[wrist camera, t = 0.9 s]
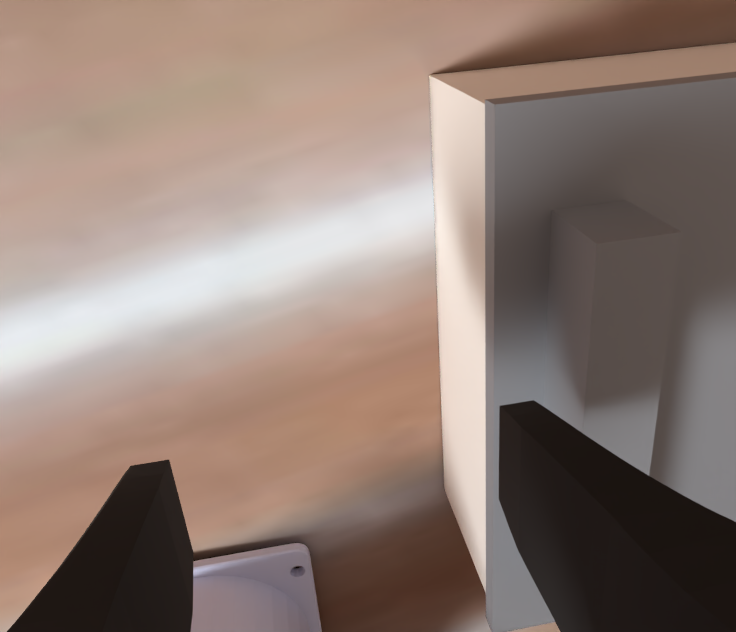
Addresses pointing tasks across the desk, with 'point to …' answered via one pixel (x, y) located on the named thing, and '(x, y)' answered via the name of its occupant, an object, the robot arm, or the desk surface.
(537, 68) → the white box
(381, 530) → the desk surface
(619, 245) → the sliding lid
